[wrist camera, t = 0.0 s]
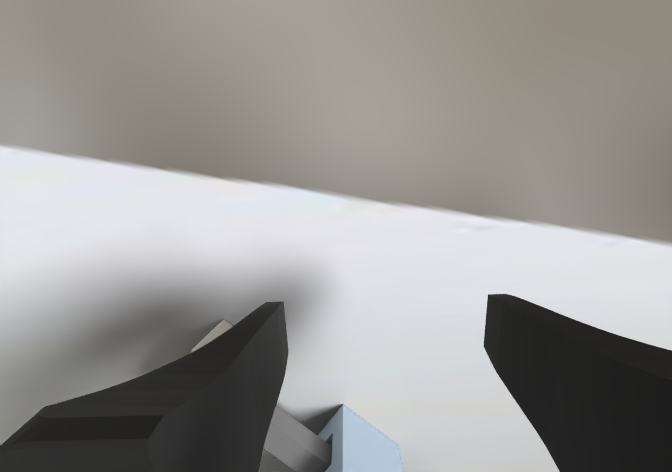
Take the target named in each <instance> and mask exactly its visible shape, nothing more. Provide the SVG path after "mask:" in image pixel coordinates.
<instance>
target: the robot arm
mask: <svg viewBox="0 0 672 472" xmlns="http://www.w3.org/2000/svg"><path fill="white" fill-rule="evenodd" d="M484 348H485V350H486V352H487V354H488V356H489V358H490V360H491V362H492V364H493V366H494V368H495V370H496V372H497V374H498V375H499V377H500V378H501V380H502V381H503V383H504V384H505V386H506V387H507V389H508V390H509V392H510V393H511V395H512V396H513V398H514V399H515V400H516V402H517V403H518V405H519V406H520V408H521V409H522V411H523V412H524V414H525V415H526V417H527V418H528V420H529V421H530V422H531V424H532V425H533V427H534V428H535V430H536V431H537V433H538V434H539V436H540V438H541V439H542V441H543V442H544V444H545V446H546V447H547V449H548V451H549V453H550V454H551V456H552V458H553V460H554V462H555V464H556V465H557V467H558V469H559V471H560V472H672V351H671V350H667V349H663V348H660V347H656V346H652V345H649V344H645V343H642V342H639V341H635V340H632V339H628V338H625V337H622V336H619V335H616V334H613V333H609V332H606V331H604V330H601V329H598V328H595V327H592V326H590V325H587V324H584V323H581V322H579V321H576V320H574V319H571V318H568V317H566V316H563V315H561V314H558V313H556V312H553V311H551V310H548V309H546V308H544V307H541V306H539V305H536V304H534V303H531V302H529V301H526V300H523V299H521V298H518V297H515V296H512V295H508V294H493V295H488V301H487V313H486V325H485V337H484ZM287 358H288V343H287V333H286V323H285V313H284V303H283V302H266V303H265V304H263V305H262V306H260V307H259V308H257V309H256V310H255V311H253V312H252V313H251V314H249V315H248V316H247V317H245V318H244V319H243V320H241V321H240V322H239V323H237V324H236V325H235V326H233V327H232V328H230V329H229V330H227V331H226V332H224V333H223V334H221V335H220V336H218V337H217V338H215V339H214V340H212V341H211V342H209V343H207V344H206V345H204V346H202V347H201V348H199V349H197V350H195V351H194V352H192V353H190V354H188V355H186V356H184V357H182V358H180V359H178V360H176V361H174V362H172V363H170V364H167V365H165V366H163V367H161V368H159V369H156V370H154V371H152V372H150V373H147V374H145V375H143V376H140V377H137V378H135V379H132V380H130V381H127V382H124V383H121V384H119V385H116V386H113V387H110V388H107V389H104V390H101V391H98V392H95V393H91V394H88V395H85V396H81V397H78V398H74V399H71V400H67V401H64V402H61V403H57V404H53V405H50V406H46V407H44V408H43V409H41V410H40V411H39V412H38V413H37V414H36V415H35V416H34V417H32V418H31V419H30V420H29V421H28V422H27V423H26V424H24V425H23V426H22V427H21V428H20V429H19V430H18V431H17V432H15V433H14V434H13V435H12V436H11V437H10V438H9V439H8V440H6V441H5V442H4V443H3V444H2V445H1V446H0V472H258V471H259V466H260V461H261V456H262V451H263V447H264V443H265V440H266V436H267V433H268V430H269V426H270V423H271V420H272V417H273V413H274V410H275V407H276V403H277V400H278V397H279V394H280V390H281V387H282V384H283V380H284V376H285V370H286V364H287Z"/></svg>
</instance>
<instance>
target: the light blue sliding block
mask: <svg viewBox="0 0 672 472" xmlns="http://www.w3.org/2000/svg"><path fill="white" fill-rule="evenodd" d="M317 436H318V437H320V438H321V439H323V440H324V441H325V442H327V443H328V444H329V445H331V446H332V460H331V465H330V466H329V467H328V469H327V470H326V471H325V472H404V468H403V464H402V459H401V455H400V450H399V446H398V444H396V443H395V442H394V441H392V440H391V439H390V438H388V437H387V436H385V435H384V434H383V433H381V432H380V431H379V430H377V429H376V428H375V427H373V426H372V425H371V424H369V423H368V422H367V421H365V420H364V419H363V418H361V417H360V416H358V415H357V414H356V413H354V412H353V411H352V410H350V409H349V408H348V407H346V406H345V405H344V404H343V405H342V406H341V407H340V409H339V410H338V411H337V412H336V413H335V415H334V416H333V417H332V418H331V419H330V421H329V422H328V423H327V424H326V425H325V427H324V428H323V429H322V430H321V432H320V433H319V434H318V435H317Z"/></svg>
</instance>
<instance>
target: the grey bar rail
mask: <svg viewBox="0 0 672 472" xmlns="http://www.w3.org/2000/svg"><path fill="white" fill-rule="evenodd" d="M232 327H233V326H232V325H231V324H230V323H228V322H227V321H226V320H224V319H223V320H222V321H221V322H220V323H219V324H218V325H217V326H216V327H215V328H214V329H213V330H212V331H211V332H210V333H208V334H207V335H206V336H205V337H204V338H203V339H202V340H201V341H200V342H199V343H198V344H197V345H196V346H195V347H194V348H193V349H192V350H191V351H190V352H189V353H188V354H190V353H192V352H194V351H195V350H197V349H199V348H201V347H202V346H204V345H206V344H207V343H209V342H211V341H212V340H214V339H215V338H217V337H218V336H220V335H221V334H223V333H224V332H226V331H227V330H229V329H230V328H232ZM263 448H264V449H265V450H266V451H268V452H269V453H271V454H272V455H273V456H275V457H276V458H277V459H279V460H280V461H282V462H283V463H284V464H286V465H287V466H288V467H290V468H291V469H293V470H294V471H295V472H325V471H326V470H327V469H328V467H329V466H330V465H331V460H332V446H331V445H329V444H328V443H327V442H325V441H324V440H323V439H321V438H320V437H318V436H317V435H316V434H314V433H313V432H312V431H310V430H309V429H308V428H306V427H305V426H303V425H302V424H301V423H299V422H298V421H297V420H295V419H294V418H293V417H291V416H290V415H288V414H287V413H286V412H284V411H283V410H282V409H280V408H279V407H278V406H276V407H275V410H274V413H273V417H272V420H271V423H270V426H269V430H268V433H267V436H266V440H265V443H264V447H263Z"/></svg>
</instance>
